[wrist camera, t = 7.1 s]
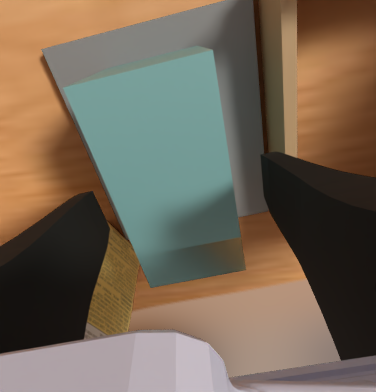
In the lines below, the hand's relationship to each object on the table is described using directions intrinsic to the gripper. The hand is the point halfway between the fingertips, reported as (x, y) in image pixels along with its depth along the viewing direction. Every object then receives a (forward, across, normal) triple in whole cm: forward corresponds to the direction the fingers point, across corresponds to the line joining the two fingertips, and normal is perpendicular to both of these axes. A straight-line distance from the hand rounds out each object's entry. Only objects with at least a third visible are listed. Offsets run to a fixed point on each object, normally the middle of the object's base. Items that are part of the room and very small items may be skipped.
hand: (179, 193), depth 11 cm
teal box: (+5, 0, 0) cm, 5 cm away
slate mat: (+5, 0, 0) cm, 5 cm away
